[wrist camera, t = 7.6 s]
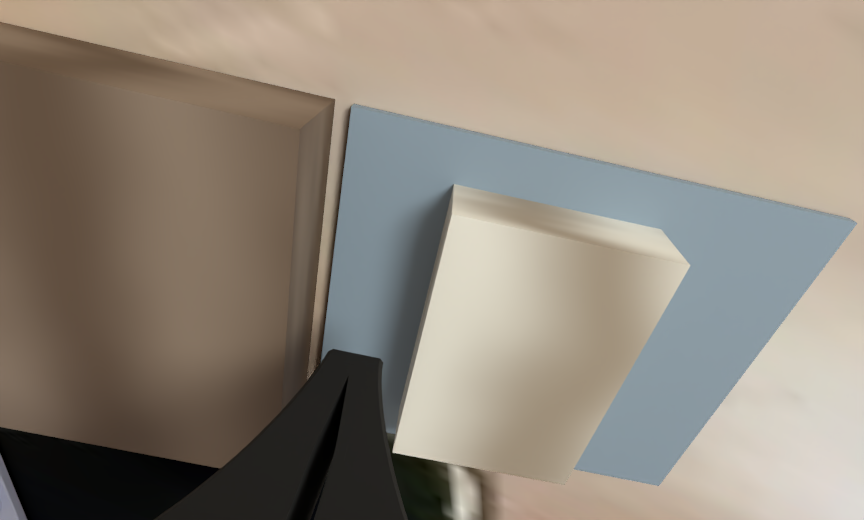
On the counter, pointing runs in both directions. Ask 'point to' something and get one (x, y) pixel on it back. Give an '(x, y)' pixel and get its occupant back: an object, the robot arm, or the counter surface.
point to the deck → (153, 247)
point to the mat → (590, 193)
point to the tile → (529, 332)
